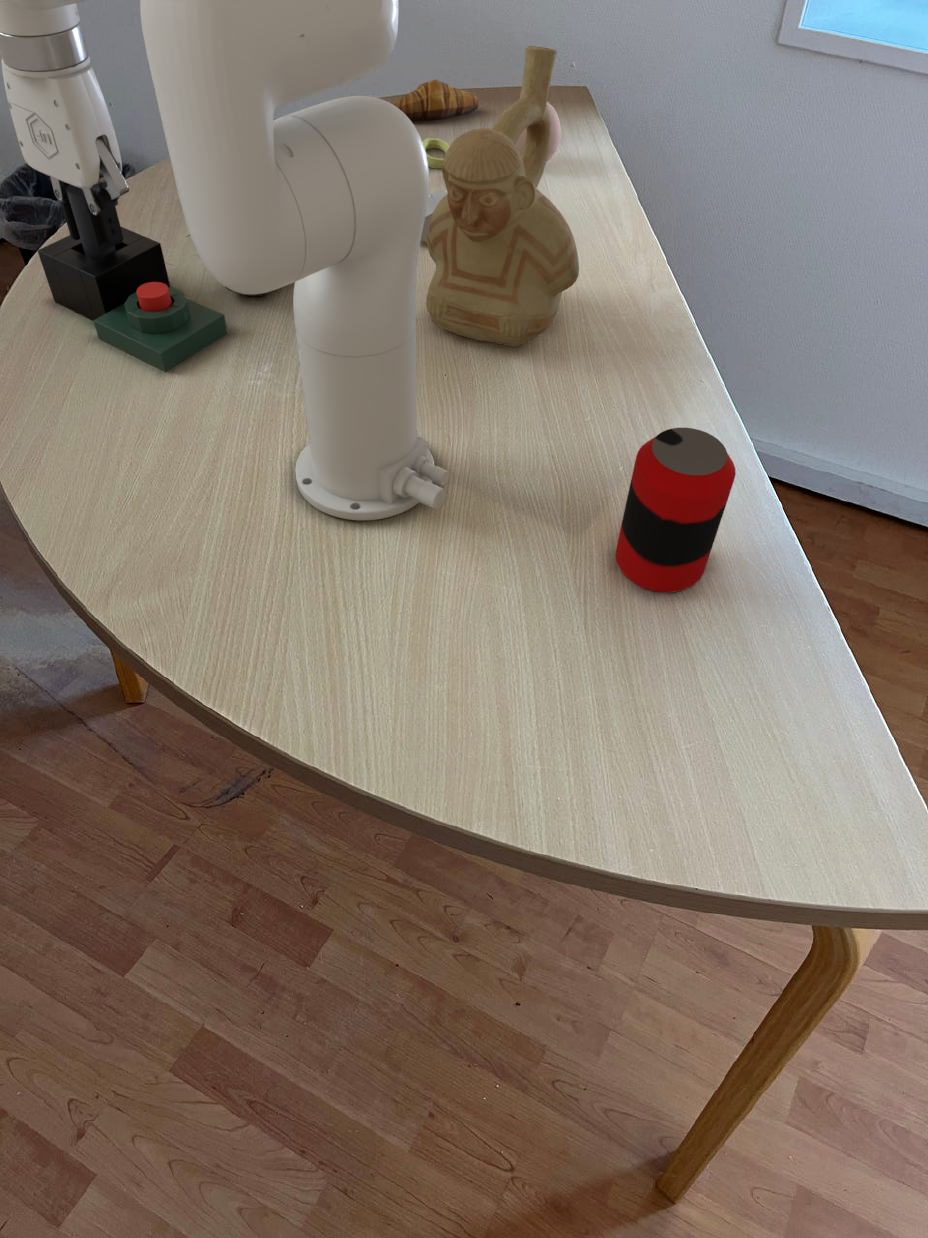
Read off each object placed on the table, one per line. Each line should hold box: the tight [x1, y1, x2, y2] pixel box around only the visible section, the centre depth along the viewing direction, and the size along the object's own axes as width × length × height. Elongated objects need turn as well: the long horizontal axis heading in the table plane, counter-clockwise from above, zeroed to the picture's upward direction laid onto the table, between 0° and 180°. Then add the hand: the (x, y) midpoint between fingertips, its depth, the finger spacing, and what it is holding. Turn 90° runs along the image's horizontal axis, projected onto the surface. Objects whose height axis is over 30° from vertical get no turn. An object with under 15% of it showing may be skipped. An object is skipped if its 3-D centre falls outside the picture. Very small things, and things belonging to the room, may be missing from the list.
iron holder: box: [37, 226, 171, 322], centre depth 101 cm, size 9×9×6 cm
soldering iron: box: [66, 185, 116, 261], centre depth 98 cm, size 3×3×11 cm
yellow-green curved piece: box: [422, 137, 451, 170], centre depth 128 cm, size 7×12×2 cm, turn 113°
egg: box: [515, 101, 562, 163], centre depth 126 cm, size 7×7×8 cm
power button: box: [136, 282, 172, 312], centre depth 95 cm, size 3×3×2 cm
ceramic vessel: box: [425, 45, 580, 348], centre depth 94 cm, size 17×20×25 cm
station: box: [93, 286, 228, 372], centre depth 97 cm, size 10×9×4 cm
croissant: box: [393, 79, 479, 121], centre depth 137 cm, size 14×7×5 cm, turn 111°
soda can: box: [614, 427, 736, 593], centre depth 74 cm, size 8×8×12 cm
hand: (97, 238), depth 98 cm, fingers closed on soldering iron, 3 cm apart
